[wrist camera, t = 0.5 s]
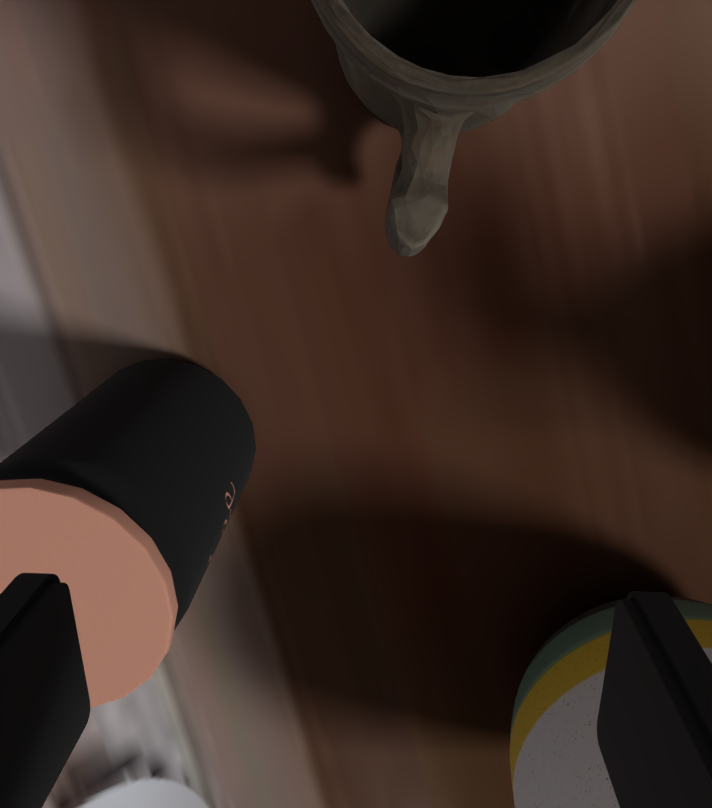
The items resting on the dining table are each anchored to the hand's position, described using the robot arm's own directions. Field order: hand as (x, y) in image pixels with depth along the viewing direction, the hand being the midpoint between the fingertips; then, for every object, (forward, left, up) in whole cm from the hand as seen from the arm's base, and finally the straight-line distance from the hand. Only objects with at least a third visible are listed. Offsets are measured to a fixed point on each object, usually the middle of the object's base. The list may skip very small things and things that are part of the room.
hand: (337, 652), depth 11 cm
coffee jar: (+10, -12, -31) cm, 34 cm away
